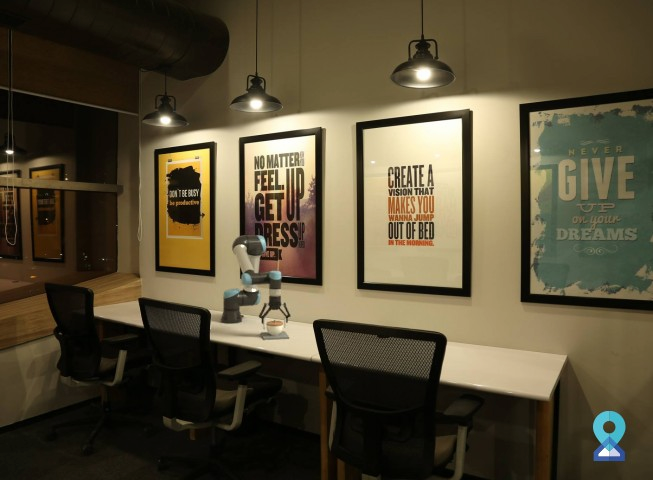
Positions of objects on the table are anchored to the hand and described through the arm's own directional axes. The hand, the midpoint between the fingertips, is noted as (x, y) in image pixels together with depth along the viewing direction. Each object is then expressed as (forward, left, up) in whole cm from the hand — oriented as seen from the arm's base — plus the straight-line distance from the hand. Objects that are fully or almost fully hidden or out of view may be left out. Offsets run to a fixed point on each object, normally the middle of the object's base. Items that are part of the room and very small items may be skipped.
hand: (274, 328), depth 305 cm
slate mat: (0, 0, -5) cm, 5 cm away
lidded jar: (0, 0, -4) cm, 4 cm away
